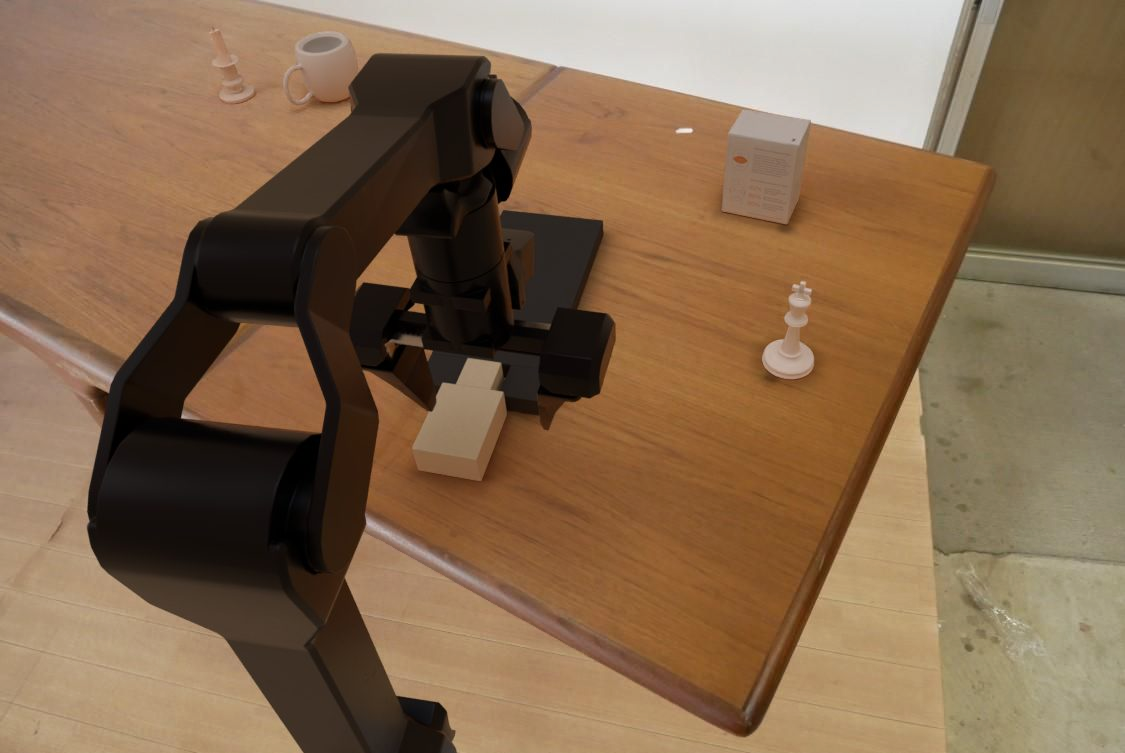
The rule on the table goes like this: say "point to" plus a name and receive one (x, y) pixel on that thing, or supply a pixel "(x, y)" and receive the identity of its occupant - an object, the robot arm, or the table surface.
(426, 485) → the table surface
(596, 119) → the table surface
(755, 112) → the small box
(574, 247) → the socket pad
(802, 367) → the chess piece
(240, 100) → the candle
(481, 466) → the beige stepped block
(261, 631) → the robot arm
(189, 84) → the table surface
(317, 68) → the mug
